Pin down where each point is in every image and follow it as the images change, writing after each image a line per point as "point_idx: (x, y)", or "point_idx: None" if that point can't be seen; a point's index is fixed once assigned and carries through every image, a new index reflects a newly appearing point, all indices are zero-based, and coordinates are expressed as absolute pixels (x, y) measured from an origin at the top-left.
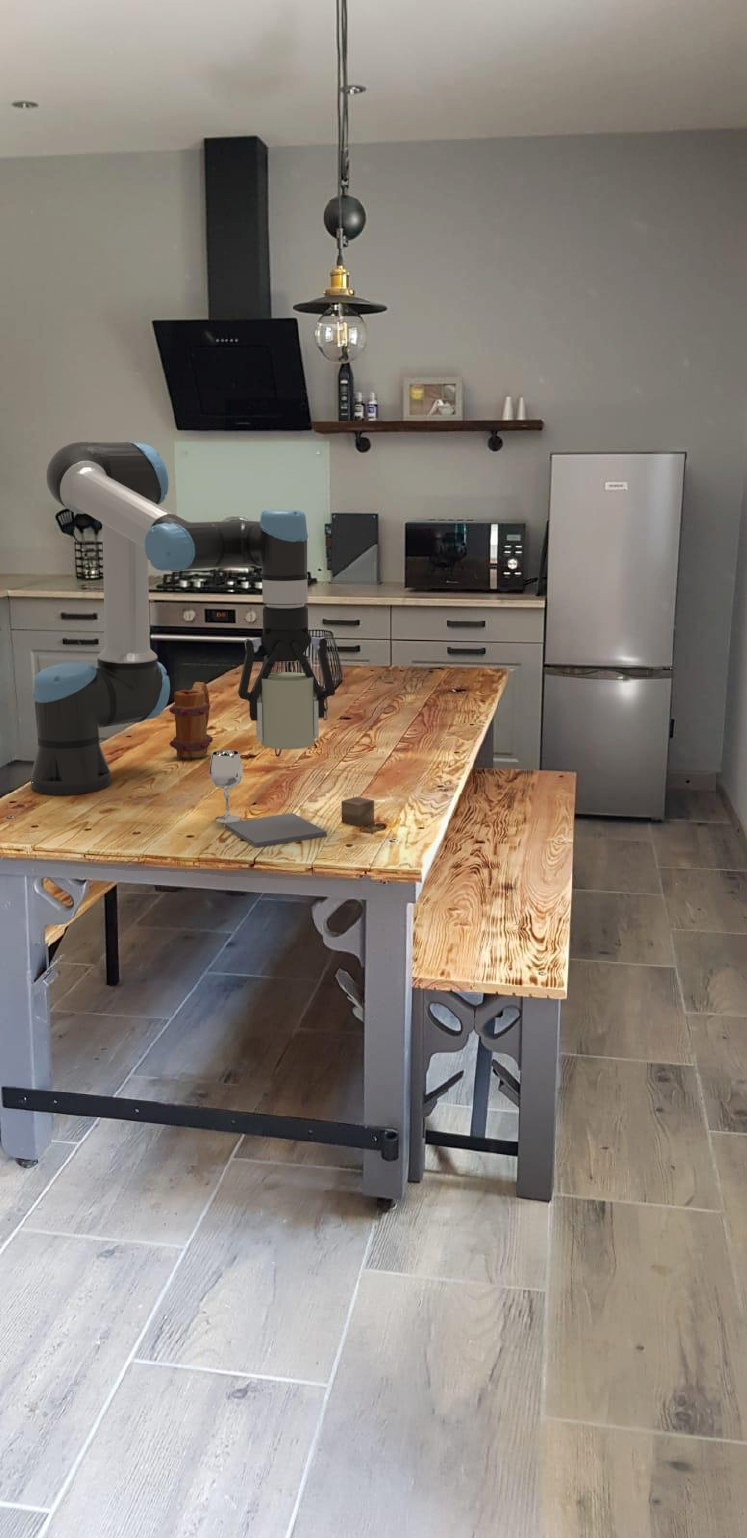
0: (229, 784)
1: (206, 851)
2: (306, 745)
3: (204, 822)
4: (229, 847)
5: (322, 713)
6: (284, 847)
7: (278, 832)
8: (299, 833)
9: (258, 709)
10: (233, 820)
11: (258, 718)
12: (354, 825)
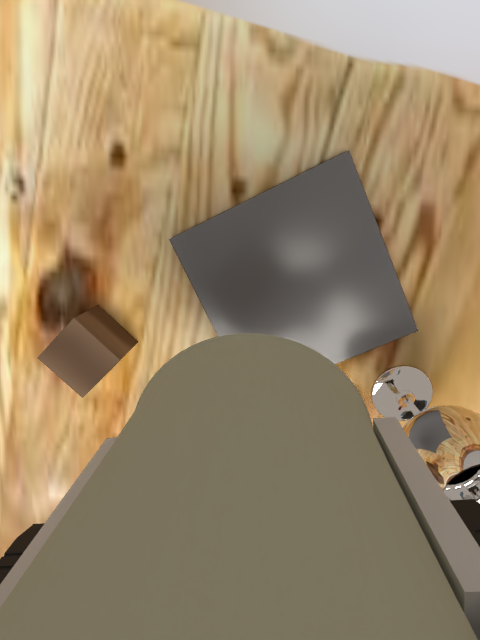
0: (435, 406)
1: (474, 129)
2: (165, 366)
3: (458, 376)
4: (412, 161)
5: (23, 545)
6: (274, 150)
7: (287, 239)
8: (235, 225)
9: (468, 541)
10: (389, 375)
11: (439, 492)
12: (108, 314)
